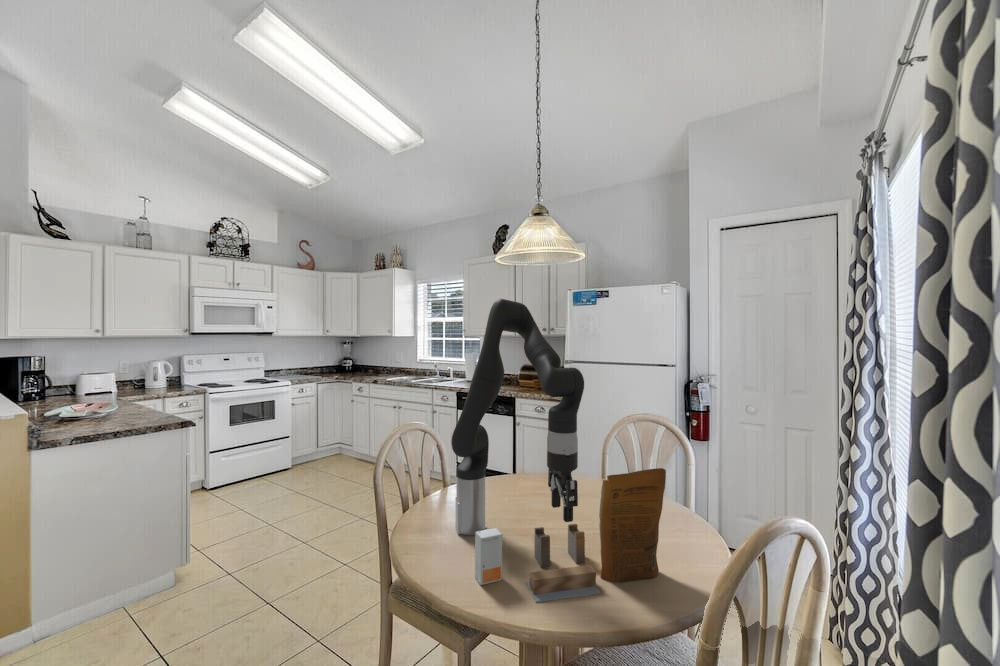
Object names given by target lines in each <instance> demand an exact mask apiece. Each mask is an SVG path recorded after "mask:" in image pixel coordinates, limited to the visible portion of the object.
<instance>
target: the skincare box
mask: <svg viewBox="0 0 1000 666" xmlns="http://www.w3.org/2000/svg"><path fill="white" fill-rule="evenodd" d="M500 531H501V530H499V529H498V528H497V527H495V528H485V530H483V531H477V532H475V535H474V538H475V539H474V544H475V545H474V551H475V552H474V578H475V580H476V581H477V583H478V584H479V586H483V585H487V584H491V583H496V582H501V581H502V580H503V577H502V576H503V533H502V532H500Z"/></svg>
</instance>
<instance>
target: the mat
mask: <svg viewBox="0 0 1000 666" xmlns="http://www.w3.org/2000/svg"><path fill="white" fill-rule="evenodd" d="M526 584H527V586H528V589H529V591H530V592H531V594H532V597H533V599H534V600H535V603H543V602H549V601H556V600H563V599H565V600H566V599H570V598H578V597H585V596H591V595H592V596H593V595H598V594H601V592H600V590H599V589H598V588H597V587H596V586H594V587H587V588H580V589H572V590H565V591H558V592H551V593H544V594H536V595H534V594H533V592H532V590H531V588H530V580H529V581H526Z"/></svg>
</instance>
